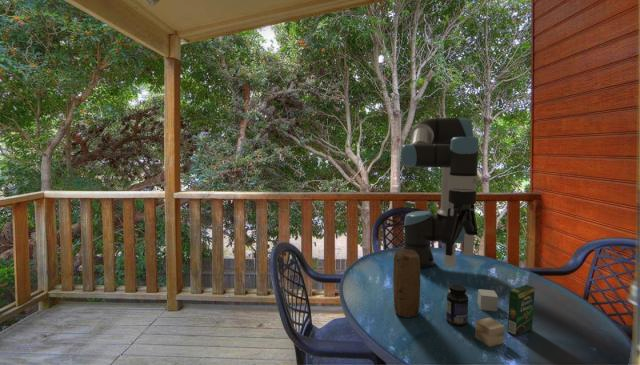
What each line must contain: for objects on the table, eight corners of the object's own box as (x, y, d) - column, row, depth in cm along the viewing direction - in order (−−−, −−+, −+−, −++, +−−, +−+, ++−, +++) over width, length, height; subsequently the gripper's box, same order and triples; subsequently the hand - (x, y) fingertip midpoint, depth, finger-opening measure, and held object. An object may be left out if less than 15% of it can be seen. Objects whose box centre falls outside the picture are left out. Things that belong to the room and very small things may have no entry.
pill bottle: (470, 321, 105) (471, 286, 104) (463, 329, 101) (464, 293, 100) (450, 314, 110) (451, 281, 108) (442, 321, 105) (444, 287, 104)
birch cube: (475, 337, 97) (475, 320, 96) (488, 333, 99) (489, 317, 98) (489, 347, 92) (490, 329, 92) (503, 343, 94) (504, 326, 93)
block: (420, 319, 106) (422, 257, 104) (396, 318, 107) (397, 256, 105) (413, 303, 117) (414, 246, 115) (391, 302, 118) (392, 246, 115)
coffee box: (515, 337, 96) (518, 293, 95) (506, 332, 99) (508, 289, 97) (533, 330, 100) (536, 287, 99) (523, 325, 103) (526, 283, 101)
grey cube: (477, 303, 117) (478, 289, 117) (493, 304, 116) (494, 290, 116) (480, 309, 113) (481, 295, 112) (497, 311, 111) (498, 297, 111)
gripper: (457, 195, 89) (454, 274, 91) (490, 187, 107) (487, 253, 109) (430, 192, 94) (427, 267, 96) (466, 185, 112) (463, 249, 114)
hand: (459, 260), depth 103 cm, fingers open, 13 cm apart
